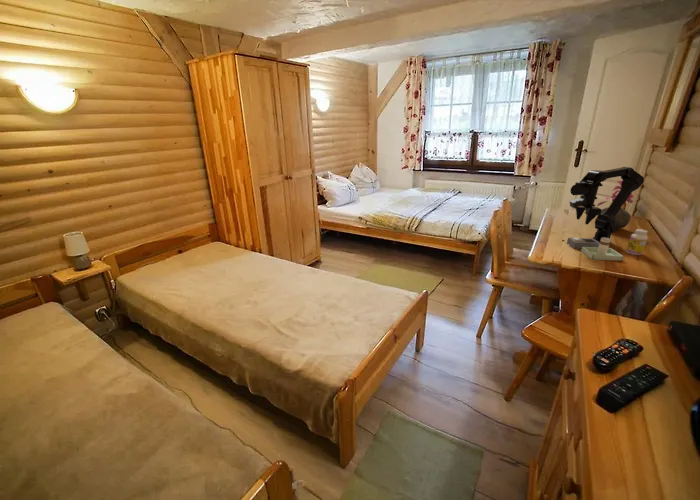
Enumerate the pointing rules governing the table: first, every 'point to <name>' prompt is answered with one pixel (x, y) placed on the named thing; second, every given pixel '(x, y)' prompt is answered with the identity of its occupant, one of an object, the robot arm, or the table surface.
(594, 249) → the parts tray
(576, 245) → the block
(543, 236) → the table surface
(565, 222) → the table surface
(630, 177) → the robot arm
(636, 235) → the supplement bottle
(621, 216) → the vase
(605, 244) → the cylinder
